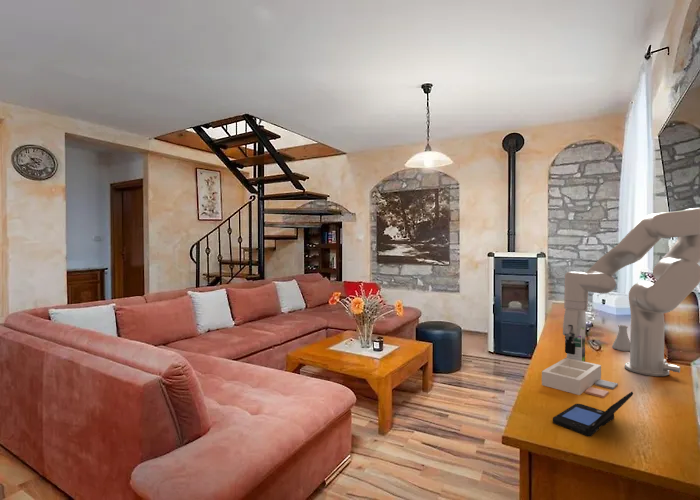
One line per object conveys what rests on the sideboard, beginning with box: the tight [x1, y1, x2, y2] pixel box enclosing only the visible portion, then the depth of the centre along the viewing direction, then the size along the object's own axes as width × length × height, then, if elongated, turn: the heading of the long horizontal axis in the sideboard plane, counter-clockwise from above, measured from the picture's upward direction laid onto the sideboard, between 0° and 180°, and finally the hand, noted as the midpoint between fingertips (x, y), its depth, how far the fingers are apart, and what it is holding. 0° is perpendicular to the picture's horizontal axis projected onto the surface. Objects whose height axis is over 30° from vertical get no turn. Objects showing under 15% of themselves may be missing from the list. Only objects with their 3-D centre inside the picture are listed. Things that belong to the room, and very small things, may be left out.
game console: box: [552, 391, 634, 438], centre depth 99 cm, size 16×14×9 cm
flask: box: [611, 324, 630, 352], centre depth 163 cm, size 7×7×10 cm
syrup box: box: [566, 327, 586, 362], centre depth 143 cm, size 6×6×14 cm
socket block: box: [541, 357, 618, 399], centre depth 125 cm, size 16×20×4 cm
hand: (574, 350), depth 143 cm, fingers open, 9 cm apart
